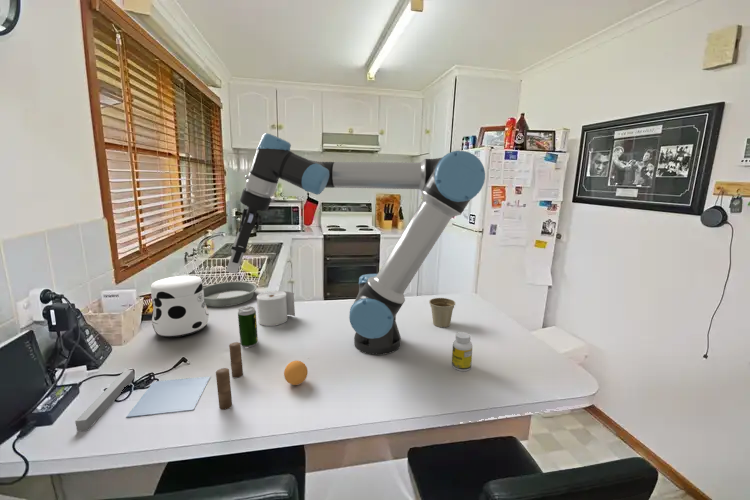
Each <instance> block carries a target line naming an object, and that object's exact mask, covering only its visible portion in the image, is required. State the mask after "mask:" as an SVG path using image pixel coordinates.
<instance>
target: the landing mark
mask: <svg viewBox="0 0 750 500" xmlns="http://www.w3.org/2000/svg"><path fill="white" fill-rule="evenodd" d="M210 379H211V376H199V377H188V378H175V379H166V380H164V379H163V380H156V382H154V381H153V382H154V383H153V382H152V383H151V384H150V386H149V387H148V388H147V389H146V390H145V392H144V394H143V395H142V396H141V397H140V399H139V400H138V401H137V402H136V404H135V405H134V406H133V408H132V409H131V410H130V411H129V413H128V414H127V415H126V417H125V418H133V417H134V418H135V417H136V418H137V417H145V416H152V415H153V416H154V415H163V414H171V413H181V412H189V411H190V412H191V411H192V412H193V411H194V410H195V408H196V406H197V405H198V403H199V400H200V398H201V396H202V395H203V393H204V391H205V389H206V387H207V385H208V383H209V381H210Z"/></svg>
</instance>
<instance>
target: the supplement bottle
mask: <svg viewBox="0 0 750 500" xmlns="http://www.w3.org/2000/svg"><path fill="white" fill-rule="evenodd" d="M472 360H473V343H472V342H471V334H470V333H468V332H466V331H465V332H464V331H459V332H456V333H455V340H453V342H452V355H451V366H452V367H453V368H454V369H455V370H457V371H459V372H466V371H467V372H468V371H469V370H471V369H472Z"/></svg>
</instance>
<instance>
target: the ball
mask: <svg viewBox="0 0 750 500" xmlns="http://www.w3.org/2000/svg"><path fill="white" fill-rule="evenodd" d="M308 372H309V371H308V367H307V365H306V364H305V363H304V361H301V360H292V361H291V362H289V363H288V364H287V365H286V366H285V369H284V371H283V376H284V379H285V381H286V382H287V383H288V384H290V385H292V386H298V385H300V384H302V383H304V382H305V381H306V379H307V377H308Z"/></svg>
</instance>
